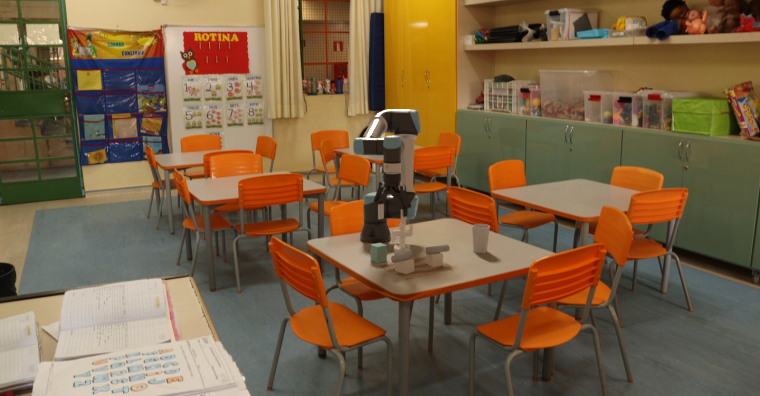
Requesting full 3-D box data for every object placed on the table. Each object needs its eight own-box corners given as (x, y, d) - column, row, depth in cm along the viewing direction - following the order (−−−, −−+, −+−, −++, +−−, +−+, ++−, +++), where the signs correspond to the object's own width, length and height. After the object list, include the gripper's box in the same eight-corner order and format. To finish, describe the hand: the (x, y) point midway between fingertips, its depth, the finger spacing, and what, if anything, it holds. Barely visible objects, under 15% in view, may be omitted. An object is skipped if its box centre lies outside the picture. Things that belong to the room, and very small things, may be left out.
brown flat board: (375, 267, 264) (375, 265, 264) (423, 257, 278) (423, 254, 278) (407, 281, 246) (407, 279, 246) (456, 269, 261) (456, 267, 260)
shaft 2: (443, 260, 270) (444, 242, 268) (450, 264, 265) (451, 246, 263) (423, 263, 266) (423, 245, 264) (430, 267, 260) (430, 249, 259)
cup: (468, 251, 287) (468, 226, 284) (477, 247, 293) (478, 223, 290) (482, 254, 282) (483, 229, 279) (492, 251, 287) (493, 225, 285)
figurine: (392, 252, 285) (392, 220, 282) (412, 253, 285) (413, 221, 281) (391, 257, 278) (391, 224, 275) (412, 257, 277) (412, 225, 274)
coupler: (370, 262, 271) (370, 244, 270) (380, 260, 274) (380, 242, 273) (377, 265, 267) (377, 247, 265) (387, 263, 270) (387, 245, 268)
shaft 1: (399, 276, 249) (399, 257, 247) (388, 273, 253) (388, 254, 252) (415, 270, 256) (415, 252, 254) (404, 267, 260) (405, 249, 259)
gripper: (365, 170, 270) (365, 218, 274) (407, 177, 252) (407, 227, 256) (377, 168, 275) (378, 215, 279) (420, 174, 257) (419, 224, 262)
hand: (392, 221), depth 268 cm, fingers open, 13 cm apart
